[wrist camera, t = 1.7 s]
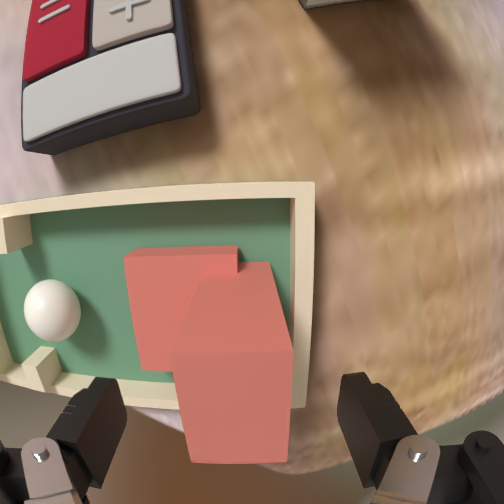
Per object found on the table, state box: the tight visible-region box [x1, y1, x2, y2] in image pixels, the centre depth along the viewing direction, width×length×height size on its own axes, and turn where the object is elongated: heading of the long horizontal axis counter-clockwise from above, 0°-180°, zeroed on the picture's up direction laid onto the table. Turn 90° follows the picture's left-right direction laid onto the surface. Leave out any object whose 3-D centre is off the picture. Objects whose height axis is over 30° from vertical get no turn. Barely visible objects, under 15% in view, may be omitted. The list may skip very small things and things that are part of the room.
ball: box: [24, 279, 81, 342], centre depth 17 cm, size 4×4×4 cm
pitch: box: [0, 181, 315, 410], centre depth 18 cm, size 25×14×5 cm, turn 91°
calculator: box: [21, 0, 200, 155], centre depth 15 cm, size 11×4×15 cm
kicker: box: [123, 245, 293, 464], centre depth 14 cm, size 8×7×10 cm
